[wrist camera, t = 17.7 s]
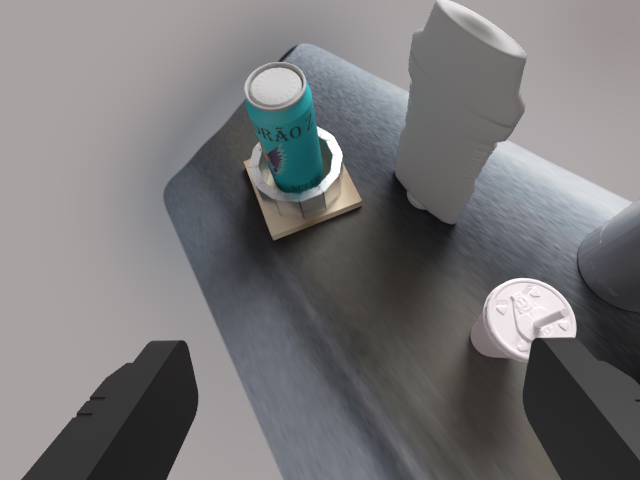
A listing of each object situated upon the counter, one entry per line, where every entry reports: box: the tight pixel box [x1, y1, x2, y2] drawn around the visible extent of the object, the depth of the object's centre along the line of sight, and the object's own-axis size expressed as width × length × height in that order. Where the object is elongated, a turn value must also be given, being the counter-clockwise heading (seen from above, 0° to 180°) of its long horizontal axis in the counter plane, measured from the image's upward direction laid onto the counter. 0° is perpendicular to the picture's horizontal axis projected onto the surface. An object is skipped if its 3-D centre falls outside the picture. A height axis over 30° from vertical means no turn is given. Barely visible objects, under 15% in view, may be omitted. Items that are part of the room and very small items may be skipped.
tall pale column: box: [395, 0, 527, 225], centre depth 34 cm, size 11×4×22 cm, turn 37°
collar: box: [249, 127, 344, 219], centre depth 43 cm, size 10×10×4 cm
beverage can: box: [244, 62, 323, 194], centre depth 38 cm, size 6×6×15 cm
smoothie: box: [471, 278, 576, 363], centre depth 31 cm, size 6×6×14 cm
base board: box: [244, 131, 362, 240], centre depth 45 cm, size 11×11×1 cm
